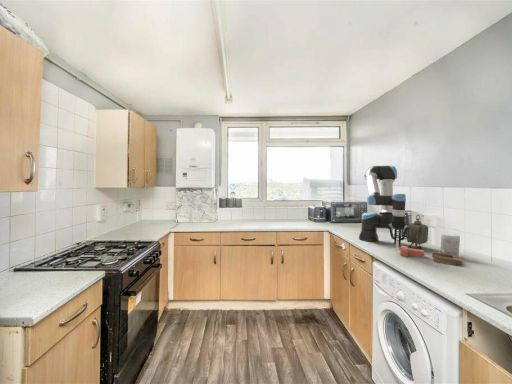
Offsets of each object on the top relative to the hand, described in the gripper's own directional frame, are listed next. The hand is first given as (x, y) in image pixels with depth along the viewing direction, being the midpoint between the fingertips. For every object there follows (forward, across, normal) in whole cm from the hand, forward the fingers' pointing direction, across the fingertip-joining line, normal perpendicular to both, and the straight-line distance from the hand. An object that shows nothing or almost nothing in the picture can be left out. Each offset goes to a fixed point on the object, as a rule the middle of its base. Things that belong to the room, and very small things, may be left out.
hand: (397, 249), depth 159 cm
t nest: (+3, +27, 0) cm, 27 cm away
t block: (+3, +9, 0) cm, 9 cm away
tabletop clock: (+3, +12, +25) cm, 28 cm away
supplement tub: (+3, +30, +14) cm, 33 cm away
